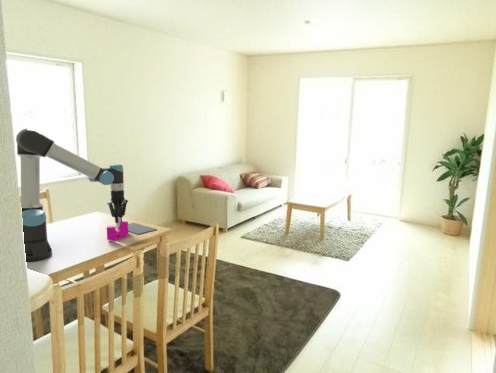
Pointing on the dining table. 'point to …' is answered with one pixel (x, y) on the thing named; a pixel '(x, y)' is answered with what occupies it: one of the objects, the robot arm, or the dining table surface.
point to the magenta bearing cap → (118, 234)
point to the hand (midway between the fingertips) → (118, 227)
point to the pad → (139, 228)
